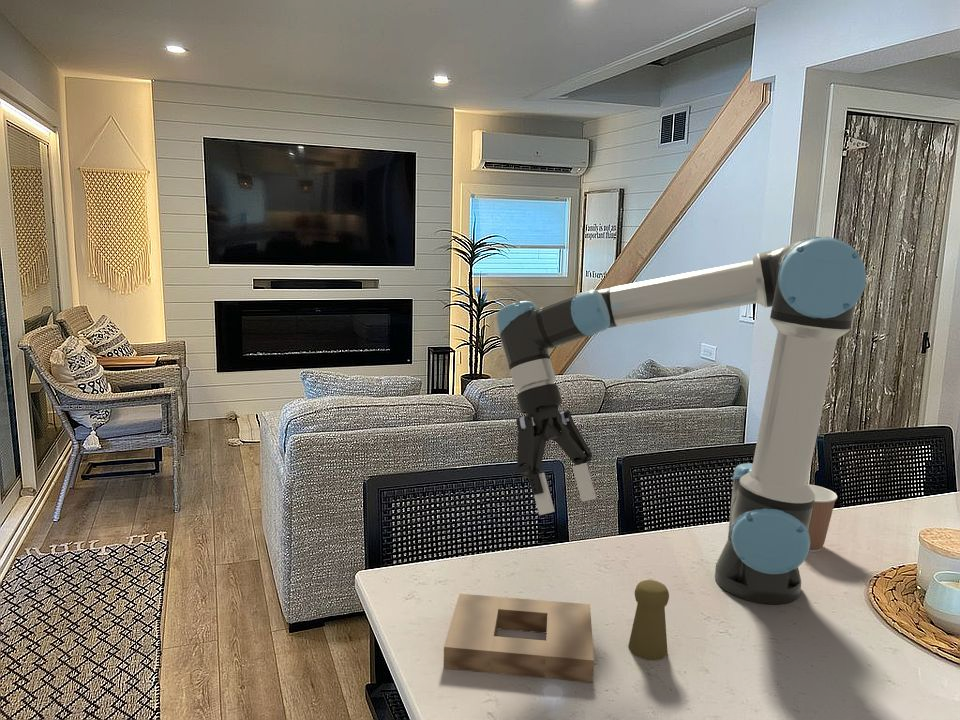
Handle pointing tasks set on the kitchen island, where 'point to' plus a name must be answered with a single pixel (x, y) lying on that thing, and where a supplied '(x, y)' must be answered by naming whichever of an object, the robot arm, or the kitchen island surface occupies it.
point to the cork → (649, 621)
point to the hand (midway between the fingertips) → (569, 506)
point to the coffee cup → (820, 516)
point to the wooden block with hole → (486, 652)
